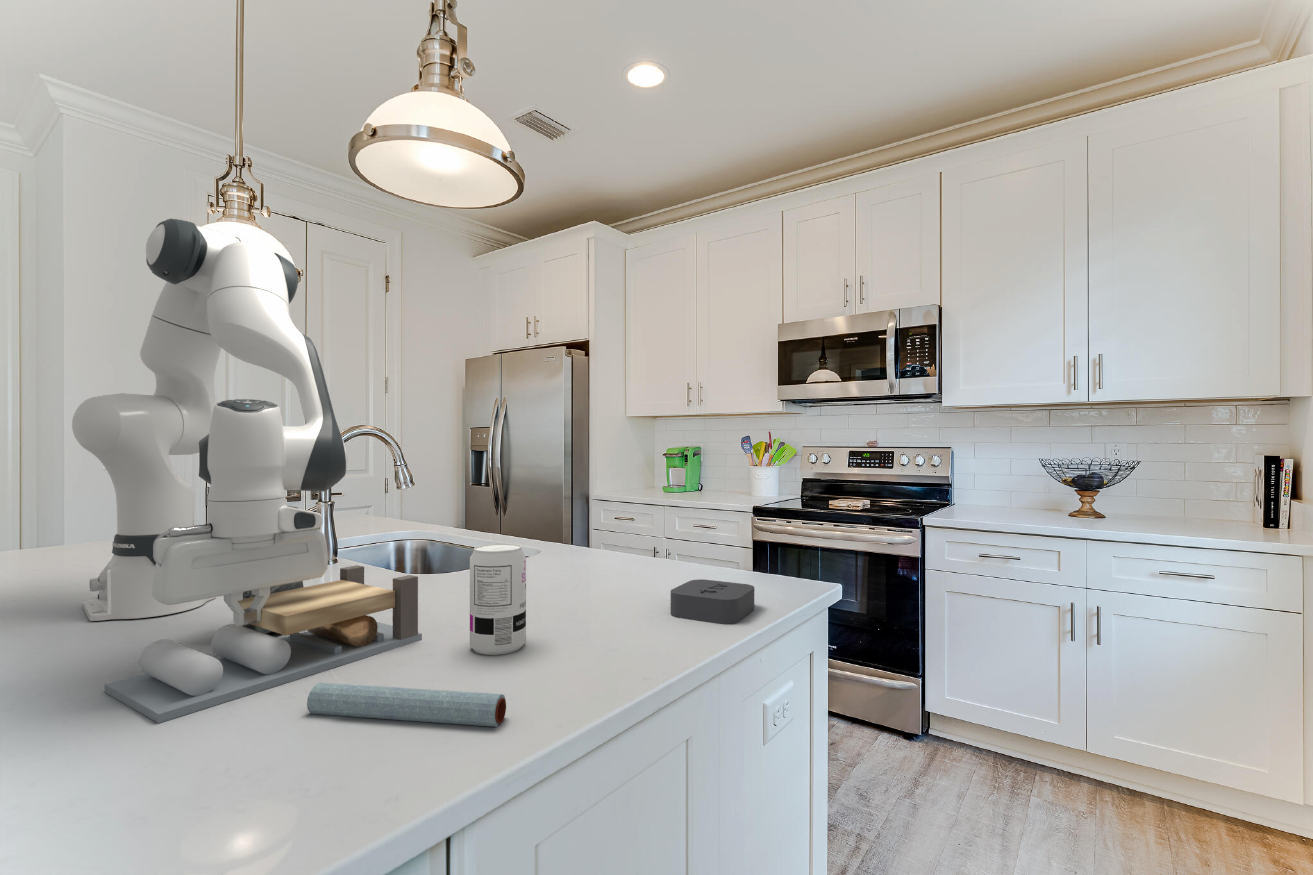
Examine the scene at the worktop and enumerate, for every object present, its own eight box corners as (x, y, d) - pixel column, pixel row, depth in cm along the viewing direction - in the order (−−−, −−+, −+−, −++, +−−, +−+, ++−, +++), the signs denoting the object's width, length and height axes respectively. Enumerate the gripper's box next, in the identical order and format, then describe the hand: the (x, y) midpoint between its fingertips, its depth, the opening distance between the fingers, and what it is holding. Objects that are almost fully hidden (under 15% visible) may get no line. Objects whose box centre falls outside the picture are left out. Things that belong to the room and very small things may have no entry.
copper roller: (300, 633, 96) (307, 603, 97) (328, 632, 100) (334, 604, 101) (346, 647, 90) (353, 615, 91) (374, 646, 93) (380, 615, 94)
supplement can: (458, 647, 94) (458, 547, 94) (506, 635, 101) (506, 541, 101) (488, 660, 89) (488, 554, 89) (536, 646, 95) (536, 547, 95)
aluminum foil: (507, 719, 71) (507, 689, 71) (482, 747, 65) (482, 714, 65) (325, 706, 75) (325, 677, 75) (284, 732, 68) (284, 700, 68)
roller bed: (104, 691, 78) (104, 611, 78) (361, 623, 107) (361, 564, 107) (158, 723, 69) (158, 632, 69) (421, 639, 98) (421, 575, 98)
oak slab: (233, 618, 89) (233, 601, 89) (341, 595, 103) (341, 579, 103) (285, 635, 82) (285, 616, 82) (395, 607, 95) (395, 590, 95)
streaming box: (734, 628, 105) (734, 601, 105) (665, 618, 111) (665, 592, 111) (758, 610, 116) (758, 585, 116) (694, 601, 122) (694, 578, 122)
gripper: (164, 531, 74) (164, 649, 74) (333, 514, 91) (333, 609, 91) (142, 527, 77) (142, 640, 77) (310, 511, 95) (310, 603, 95)
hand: (247, 623), depth 84 cm, fingers closed
